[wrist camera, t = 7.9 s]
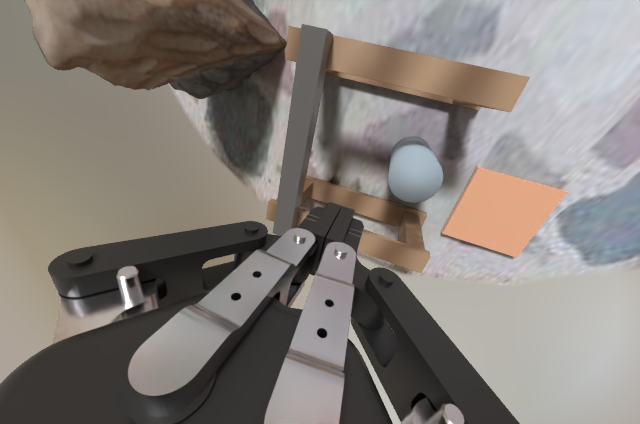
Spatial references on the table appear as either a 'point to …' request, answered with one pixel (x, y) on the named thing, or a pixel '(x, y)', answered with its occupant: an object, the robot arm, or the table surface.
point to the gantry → (413, 78)
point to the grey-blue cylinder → (414, 170)
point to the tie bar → (301, 123)
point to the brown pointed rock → (157, 41)
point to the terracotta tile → (501, 211)
